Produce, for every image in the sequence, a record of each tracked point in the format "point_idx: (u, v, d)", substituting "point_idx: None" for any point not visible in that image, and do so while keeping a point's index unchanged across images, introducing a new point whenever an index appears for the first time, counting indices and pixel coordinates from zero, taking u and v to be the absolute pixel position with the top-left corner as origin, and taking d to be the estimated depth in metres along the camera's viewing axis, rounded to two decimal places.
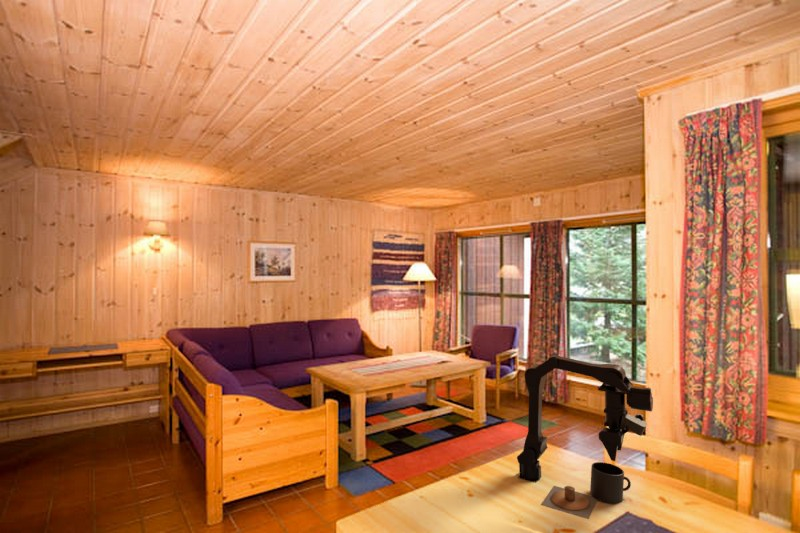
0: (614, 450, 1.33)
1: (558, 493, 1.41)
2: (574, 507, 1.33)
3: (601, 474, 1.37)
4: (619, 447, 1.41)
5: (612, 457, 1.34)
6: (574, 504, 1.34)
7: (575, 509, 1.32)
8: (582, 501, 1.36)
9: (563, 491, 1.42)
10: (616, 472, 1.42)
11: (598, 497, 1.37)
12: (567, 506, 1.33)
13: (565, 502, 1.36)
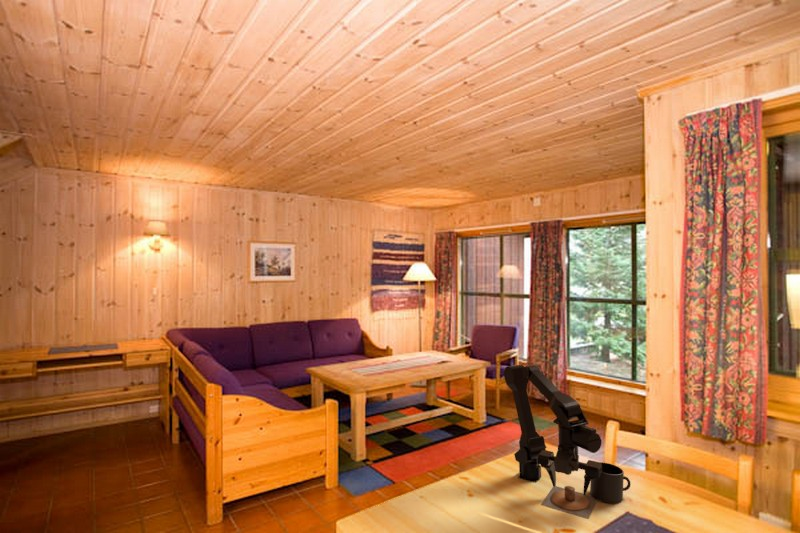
0: None
1: (558, 493, 1.41)
2: (574, 507, 1.33)
3: (601, 474, 1.37)
4: None
5: None
6: (574, 504, 1.34)
7: (575, 509, 1.32)
8: (582, 501, 1.36)
9: (563, 491, 1.42)
10: (616, 472, 1.42)
11: (598, 497, 1.37)
12: (567, 506, 1.33)
13: (565, 502, 1.36)
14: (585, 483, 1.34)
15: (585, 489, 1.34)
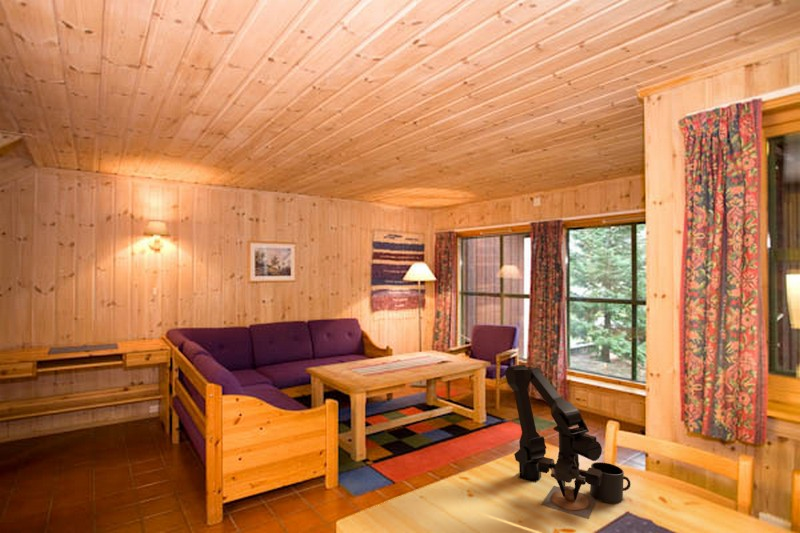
0: None
1: (558, 493, 1.41)
2: (574, 507, 1.33)
3: None
4: None
5: None
6: (574, 504, 1.34)
7: (575, 509, 1.32)
8: (582, 501, 1.36)
9: None
10: (616, 472, 1.42)
11: (598, 497, 1.37)
12: (567, 506, 1.33)
13: (565, 502, 1.36)
14: (575, 488, 1.35)
15: (575, 494, 1.36)
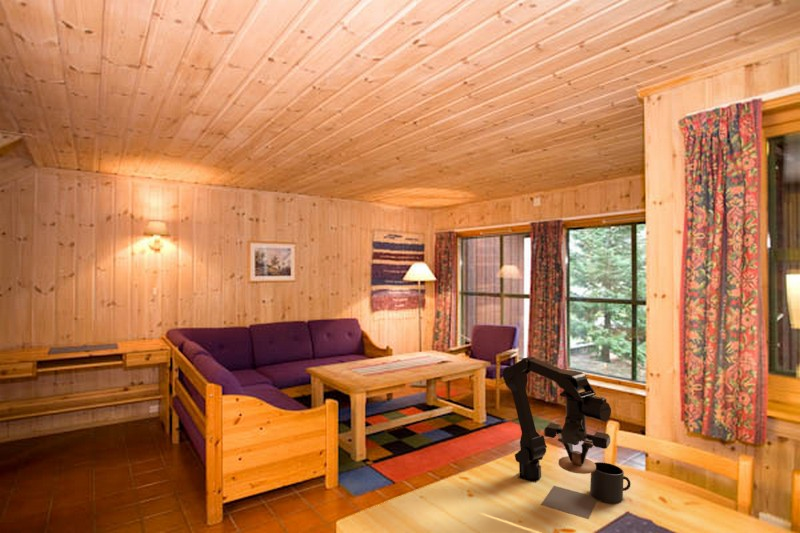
0: None
1: (565, 458, 1.41)
2: (581, 470, 1.33)
3: (601, 474, 1.37)
4: None
5: None
6: (581, 468, 1.35)
7: (582, 472, 1.32)
8: (589, 465, 1.36)
9: None
10: (616, 472, 1.42)
11: (598, 497, 1.37)
12: (574, 469, 1.34)
13: (572, 466, 1.36)
14: (583, 452, 1.35)
15: (583, 458, 1.36)
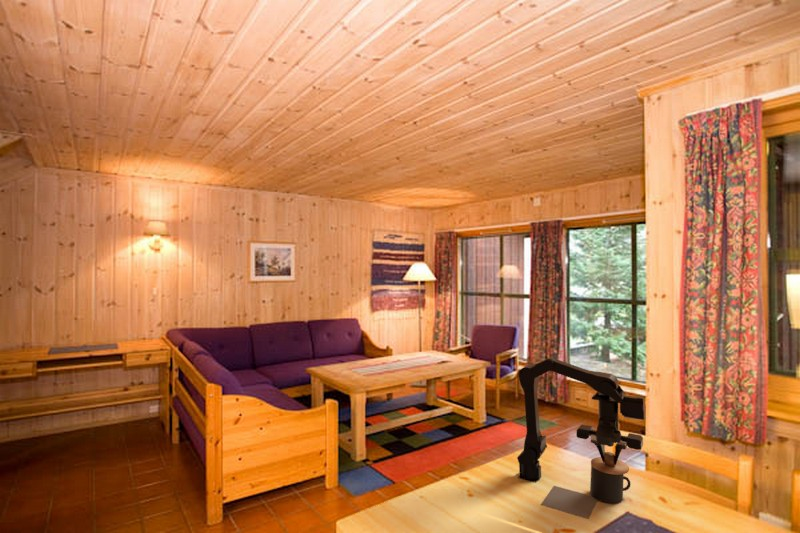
0: None
1: (597, 459, 1.43)
2: (615, 471, 1.35)
3: (601, 474, 1.37)
4: None
5: None
6: (615, 469, 1.37)
7: (616, 473, 1.34)
8: (622, 466, 1.38)
9: (601, 458, 1.45)
10: None
11: (598, 497, 1.37)
12: (608, 470, 1.36)
13: (605, 467, 1.38)
14: (616, 453, 1.37)
15: (616, 459, 1.38)
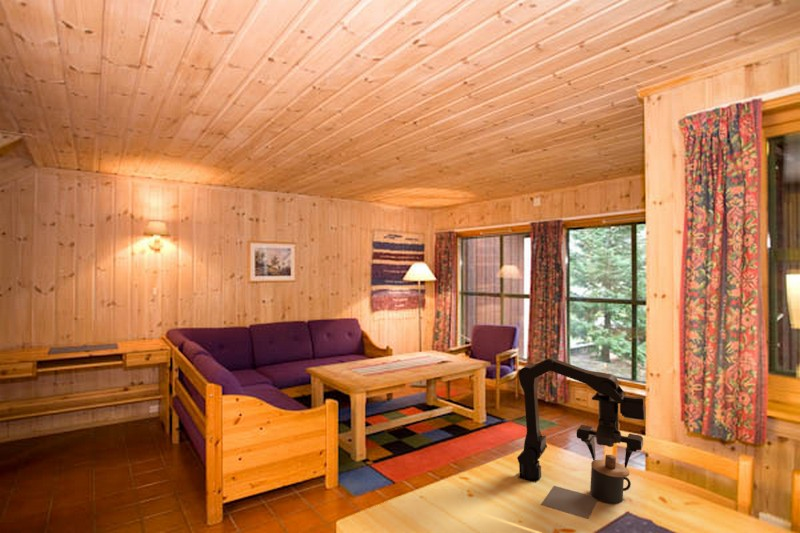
0: None
1: (597, 461, 1.43)
2: (615, 473, 1.35)
3: (601, 474, 1.37)
4: None
5: None
6: (615, 471, 1.36)
7: (617, 475, 1.34)
8: (623, 469, 1.38)
9: (602, 460, 1.44)
10: None
11: (598, 497, 1.37)
12: (609, 472, 1.36)
13: (606, 469, 1.38)
14: (626, 456, 1.36)
15: (626, 462, 1.36)
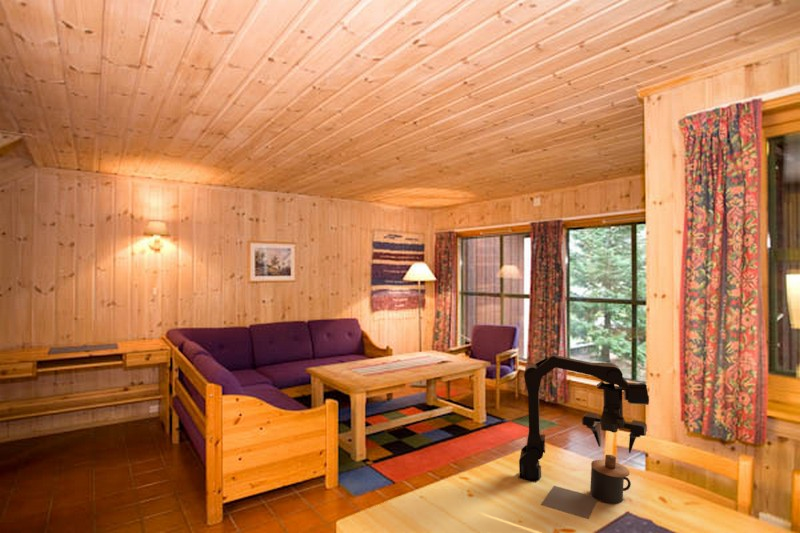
0: None
1: (597, 461, 1.43)
2: (615, 473, 1.35)
3: (601, 474, 1.37)
4: None
5: None
6: (615, 471, 1.36)
7: (617, 475, 1.34)
8: (622, 469, 1.38)
9: (602, 460, 1.44)
10: None
11: (598, 497, 1.37)
12: (609, 472, 1.36)
13: (606, 469, 1.38)
14: (630, 441, 1.41)
15: (630, 447, 1.41)
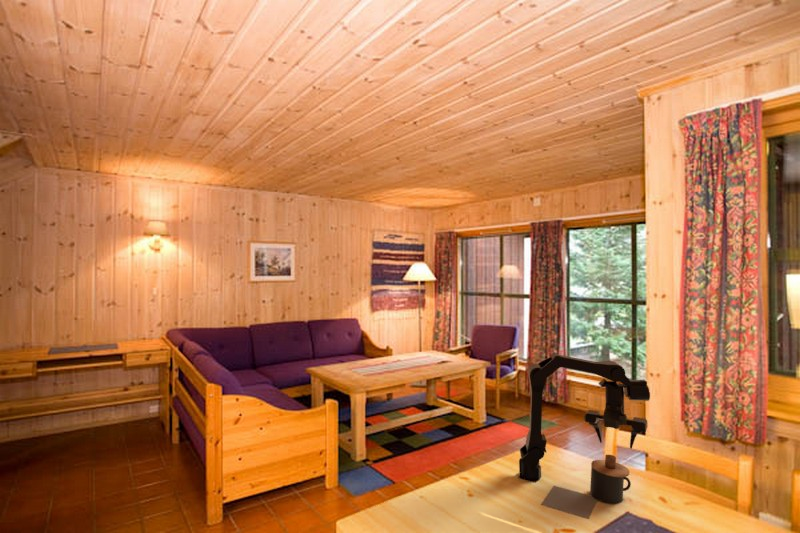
0: None
1: (597, 461, 1.43)
2: (615, 473, 1.35)
3: (601, 474, 1.37)
4: (630, 445, 1.46)
5: None
6: (615, 471, 1.36)
7: (617, 475, 1.34)
8: (622, 469, 1.38)
9: (602, 460, 1.44)
10: None
11: (598, 497, 1.37)
12: (609, 472, 1.36)
13: (606, 469, 1.38)
14: (632, 437, 1.45)
15: (631, 443, 1.45)
